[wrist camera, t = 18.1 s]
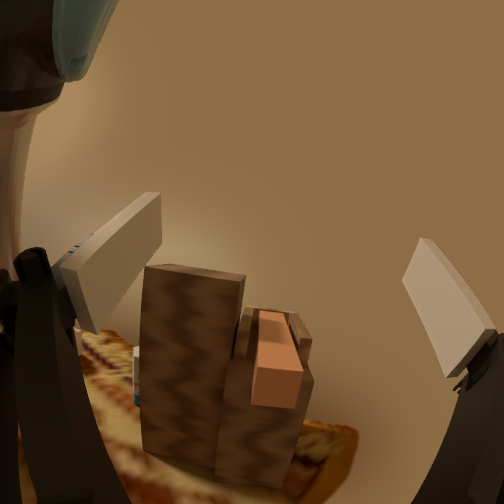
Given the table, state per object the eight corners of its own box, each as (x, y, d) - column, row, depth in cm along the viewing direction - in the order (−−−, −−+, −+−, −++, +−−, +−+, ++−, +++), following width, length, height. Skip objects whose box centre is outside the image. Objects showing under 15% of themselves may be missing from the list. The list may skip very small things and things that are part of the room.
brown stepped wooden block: (136, 459, 29) (134, 267, 29) (173, 400, 50) (184, 262, 50) (281, 487, 28) (331, 297, 28) (276, 418, 49) (303, 279, 49)
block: (250, 404, 22) (257, 366, 22) (256, 332, 46) (259, 310, 46) (294, 408, 21) (303, 371, 21) (279, 335, 45) (283, 313, 45)
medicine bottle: (64, 347, 59) (62, 306, 59) (82, 354, 58) (81, 313, 59) (49, 354, 51) (46, 311, 51) (68, 362, 51) (66, 318, 51)
